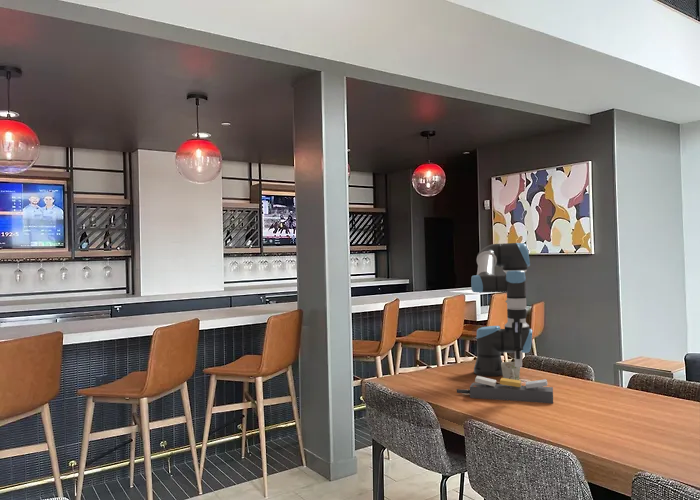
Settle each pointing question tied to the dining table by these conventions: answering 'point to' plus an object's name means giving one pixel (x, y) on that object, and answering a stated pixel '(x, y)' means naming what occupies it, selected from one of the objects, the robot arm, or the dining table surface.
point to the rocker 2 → (510, 382)
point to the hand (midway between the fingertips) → (518, 366)
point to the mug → (510, 370)
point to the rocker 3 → (536, 383)
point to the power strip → (510, 393)
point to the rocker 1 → (485, 381)
